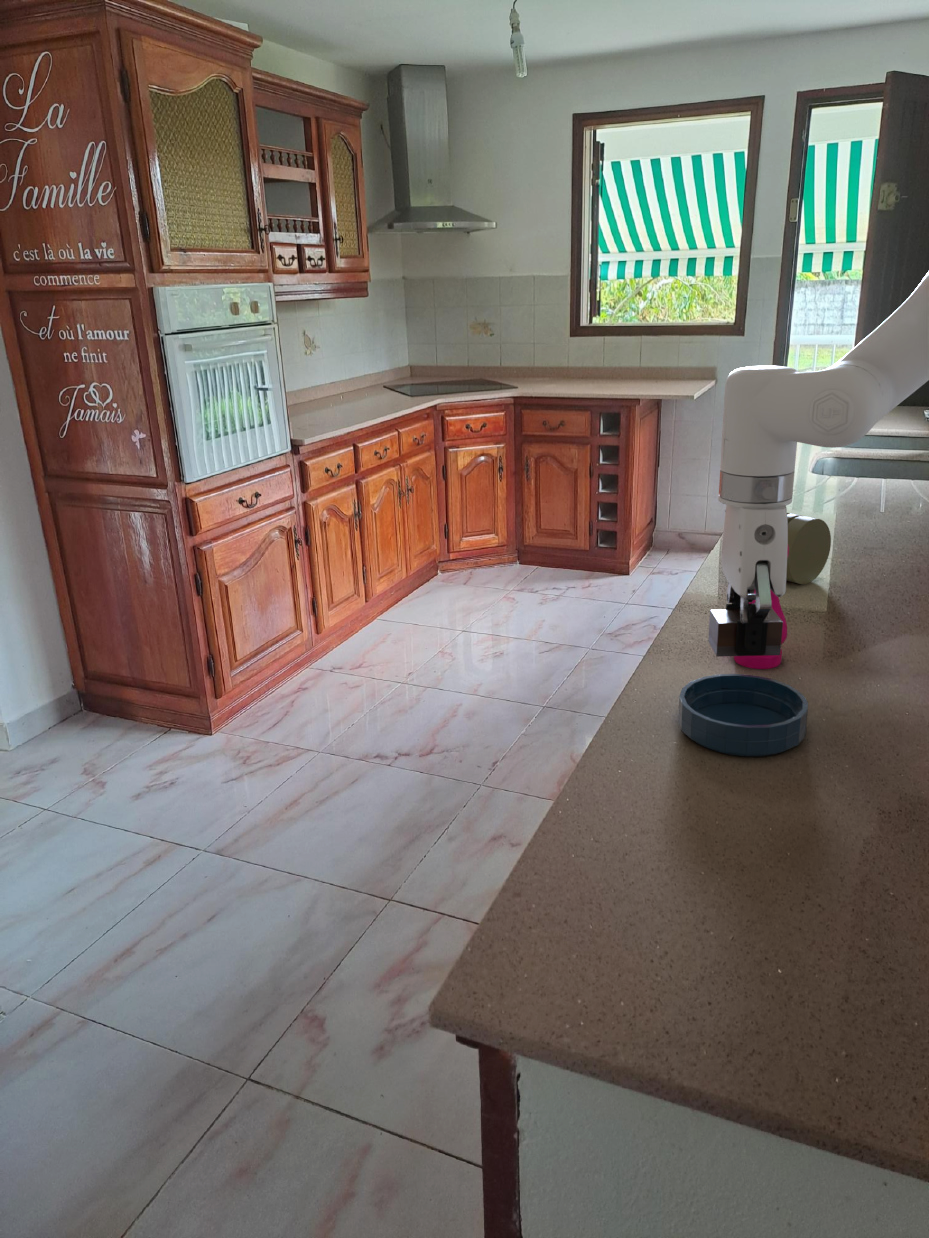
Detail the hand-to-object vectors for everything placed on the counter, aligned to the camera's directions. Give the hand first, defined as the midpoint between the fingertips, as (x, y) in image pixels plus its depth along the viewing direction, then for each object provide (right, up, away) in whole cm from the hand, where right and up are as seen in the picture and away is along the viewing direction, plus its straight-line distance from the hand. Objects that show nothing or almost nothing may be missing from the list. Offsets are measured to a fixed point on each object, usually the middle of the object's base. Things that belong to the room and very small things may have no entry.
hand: (744, 643), depth 100 cm
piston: (+24, +10, +56) cm, 61 cm away
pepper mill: (+9, -3, +22) cm, 24 cm away
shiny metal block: (0, -1, 0) cm, 1 cm away
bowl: (+1, -10, +4) cm, 11 cm away
